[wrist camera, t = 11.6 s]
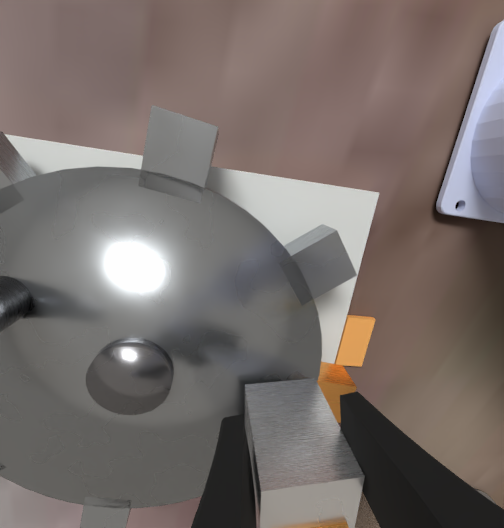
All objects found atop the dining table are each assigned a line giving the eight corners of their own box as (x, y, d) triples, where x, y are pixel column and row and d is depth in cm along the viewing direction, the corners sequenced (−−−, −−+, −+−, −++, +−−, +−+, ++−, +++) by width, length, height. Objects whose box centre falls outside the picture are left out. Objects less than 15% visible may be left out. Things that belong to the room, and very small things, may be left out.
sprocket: (142, -27, 8) (39, -301, 4) (417, 356, 14) (520, 448, 9) (-223, 338, 10) (-603, 475, 6) (145, 548, 16) (113, 707, 11)
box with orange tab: (315, 378, 12) (367, 482, 8) (306, 463, 13) (346, 586, 9) (244, 384, 11) (262, 498, 7) (244, 471, 13) (258, 603, 9)
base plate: (407, 197, 13) (433, 200, 12) (334, 448, 18) (345, 475, 16) (-127, 115, 10) (-192, 102, 9) (-56, 444, 15) (-90, 477, 13)
